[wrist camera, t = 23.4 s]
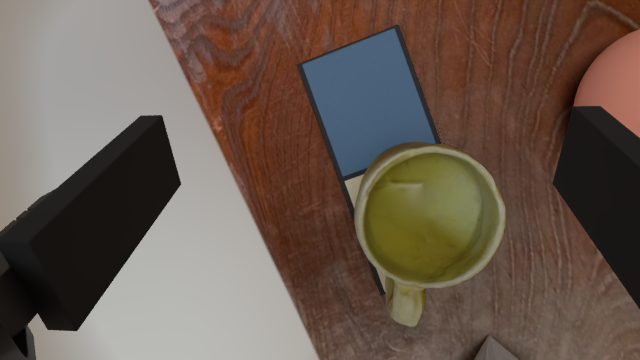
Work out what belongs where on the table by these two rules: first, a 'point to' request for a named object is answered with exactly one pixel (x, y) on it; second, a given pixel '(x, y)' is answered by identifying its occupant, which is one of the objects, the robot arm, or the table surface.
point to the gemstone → (493, 351)
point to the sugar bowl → (615, 82)
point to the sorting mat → (367, 104)
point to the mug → (426, 221)
